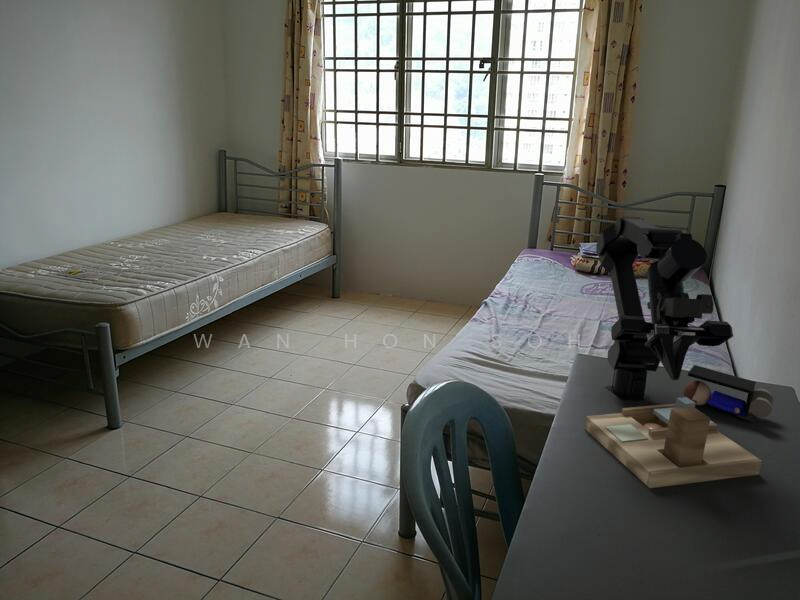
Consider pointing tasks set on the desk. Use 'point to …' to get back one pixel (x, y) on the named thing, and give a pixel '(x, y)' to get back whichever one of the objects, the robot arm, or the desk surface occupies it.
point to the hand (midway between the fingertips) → (675, 379)
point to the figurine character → (702, 394)
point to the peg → (686, 436)
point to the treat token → (652, 426)
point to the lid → (680, 403)
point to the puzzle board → (647, 446)
